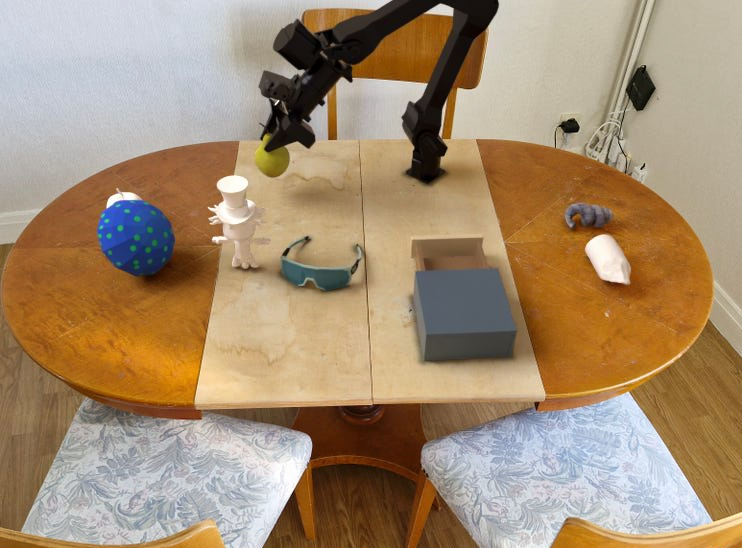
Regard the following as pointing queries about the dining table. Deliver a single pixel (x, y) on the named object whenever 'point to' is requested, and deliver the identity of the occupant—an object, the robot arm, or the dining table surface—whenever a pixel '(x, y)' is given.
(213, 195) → the dining table surface
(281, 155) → the fruit
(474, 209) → the dining table surface
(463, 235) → the drawer
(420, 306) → the cabinet
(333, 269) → the sunglasses
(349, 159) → the dining table surface
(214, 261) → the dining table surface
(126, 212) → the polka dot ball
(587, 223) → the seashell
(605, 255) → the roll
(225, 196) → the figurine
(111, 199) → the plain white apple
